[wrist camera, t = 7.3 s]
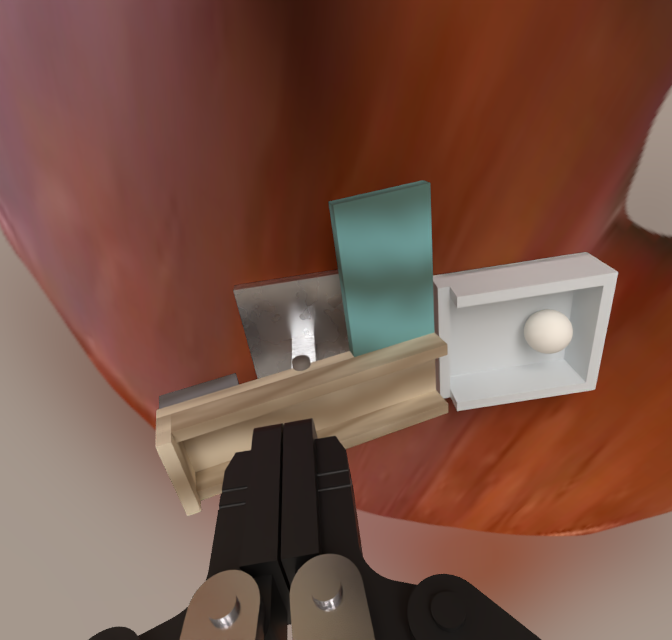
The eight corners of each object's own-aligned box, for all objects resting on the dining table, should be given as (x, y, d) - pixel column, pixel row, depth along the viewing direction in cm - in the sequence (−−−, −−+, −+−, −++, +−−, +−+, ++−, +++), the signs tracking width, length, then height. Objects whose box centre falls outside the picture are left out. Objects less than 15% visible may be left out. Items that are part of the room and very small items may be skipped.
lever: (94, 243, 28) (78, 280, 23) (407, 174, 33) (454, 191, 28) (186, 459, 38) (189, 521, 33) (418, 382, 43) (454, 424, 38)
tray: (430, 276, 40) (444, 299, 36) (586, 251, 40) (618, 272, 36) (433, 383, 46) (446, 412, 42) (569, 361, 46) (594, 389, 42)
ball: (585, 319, 38) (559, 298, 41) (539, 327, 38) (517, 305, 41) (579, 357, 40) (554, 334, 43) (535, 365, 40) (514, 342, 43)
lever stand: (234, 285, 39) (224, 319, 33) (349, 267, 39) (357, 298, 33) (272, 423, 47) (269, 468, 41) (367, 408, 47) (376, 451, 41)
